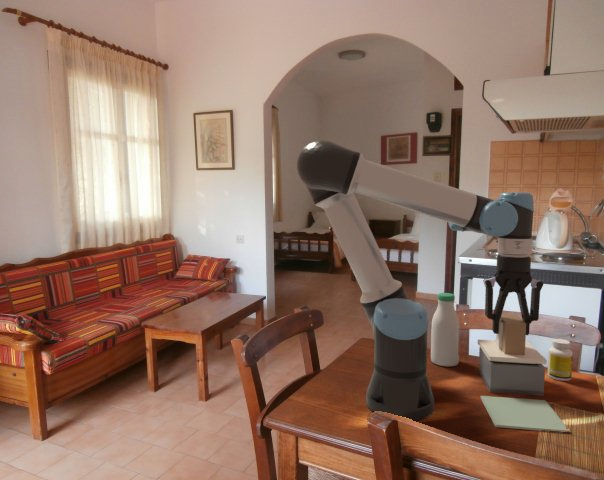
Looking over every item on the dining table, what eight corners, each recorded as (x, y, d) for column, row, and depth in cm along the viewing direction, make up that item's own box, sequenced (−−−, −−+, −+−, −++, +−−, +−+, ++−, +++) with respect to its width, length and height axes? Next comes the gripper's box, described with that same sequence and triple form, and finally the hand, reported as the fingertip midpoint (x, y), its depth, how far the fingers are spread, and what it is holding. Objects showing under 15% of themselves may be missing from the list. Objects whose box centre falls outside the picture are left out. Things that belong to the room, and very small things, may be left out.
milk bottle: (457, 369, 116) (459, 298, 114) (428, 364, 119) (430, 295, 117) (460, 359, 123) (461, 292, 121) (432, 355, 126) (434, 290, 124)
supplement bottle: (575, 382, 107) (577, 345, 106) (551, 380, 108) (553, 343, 107) (566, 373, 112) (568, 338, 111) (544, 372, 113) (545, 337, 112)
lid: (489, 363, 101) (490, 324, 100) (477, 346, 113) (478, 310, 112) (546, 367, 99) (548, 326, 98) (527, 348, 111) (529, 312, 110)
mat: (495, 426, 86) (495, 424, 86) (480, 397, 99) (480, 395, 99) (569, 433, 84) (570, 430, 84) (544, 402, 96) (544, 400, 96)
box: (490, 392, 102) (491, 364, 101) (478, 372, 114) (479, 347, 113) (543, 395, 100) (545, 367, 99) (526, 375, 111) (527, 349, 111)
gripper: (479, 256, 102) (476, 349, 104) (559, 257, 98) (553, 354, 101) (473, 252, 109) (470, 339, 111) (546, 253, 106) (541, 343, 108)
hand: (509, 346), depth 106 cm, fingers closed on lid, 4 cm apart
